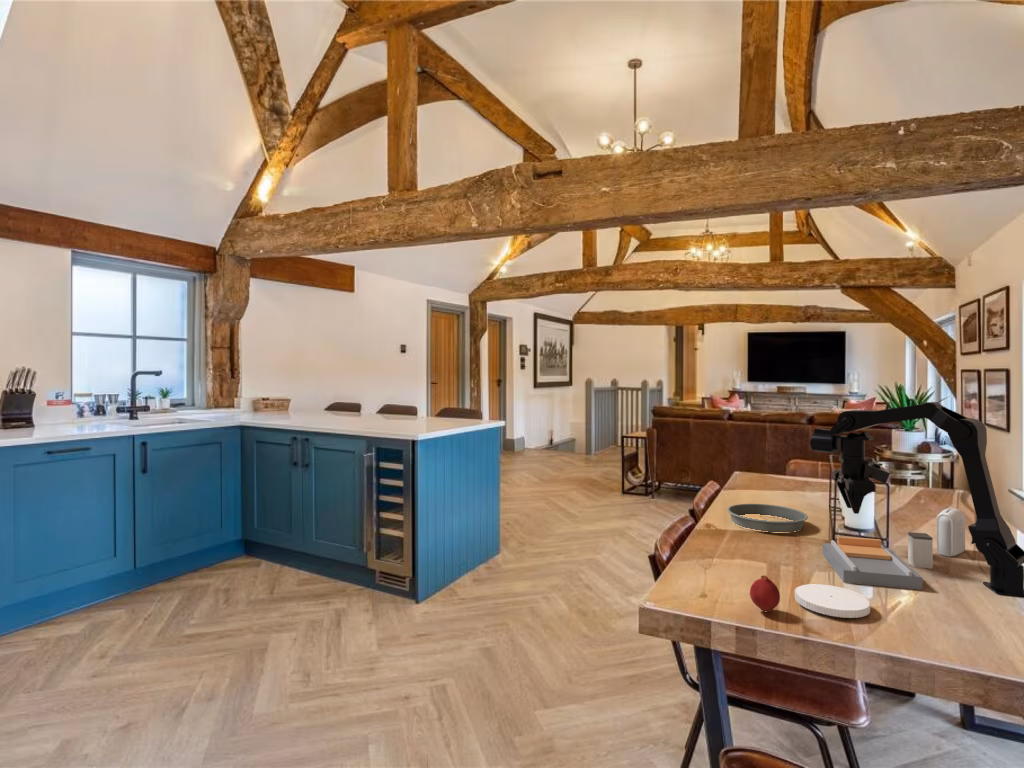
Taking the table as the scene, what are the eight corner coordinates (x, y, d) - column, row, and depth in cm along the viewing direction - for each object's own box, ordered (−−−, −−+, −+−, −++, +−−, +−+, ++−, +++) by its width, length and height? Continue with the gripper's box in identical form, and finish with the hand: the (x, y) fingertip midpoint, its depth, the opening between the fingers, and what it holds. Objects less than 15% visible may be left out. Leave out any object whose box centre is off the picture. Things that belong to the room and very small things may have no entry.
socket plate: (922, 590, 124) (922, 572, 124) (843, 582, 129) (843, 566, 129) (889, 559, 145) (889, 544, 145) (822, 553, 150) (822, 539, 150)
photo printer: (948, 547, 155) (948, 504, 154) (967, 551, 151) (967, 507, 151) (934, 554, 149) (934, 509, 149) (953, 558, 145) (953, 513, 145)
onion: (754, 603, 118) (754, 567, 118) (783, 610, 115) (782, 573, 114) (746, 612, 114) (746, 575, 114) (776, 620, 110) (775, 581, 110)
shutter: (890, 560, 136) (890, 548, 136) (845, 556, 139) (845, 545, 139) (880, 550, 143) (880, 539, 143) (837, 546, 146) (837, 536, 146)
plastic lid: (781, 596, 123) (781, 585, 123) (840, 593, 124) (840, 582, 124) (821, 624, 109) (821, 611, 109) (886, 621, 110) (886, 609, 110)
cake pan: (815, 538, 165) (815, 524, 165) (729, 532, 173) (729, 518, 173) (800, 518, 188) (800, 505, 188) (725, 513, 196) (725, 501, 196)
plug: (932, 568, 138) (932, 537, 138) (914, 567, 139) (914, 536, 139) (926, 563, 142) (926, 533, 142) (908, 562, 143) (908, 532, 143)
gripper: (898, 461, 138) (898, 521, 139) (875, 451, 156) (875, 504, 156) (849, 459, 142) (849, 518, 142) (831, 450, 160) (832, 502, 160)
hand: (852, 510), depth 150 cm, fingers open, 6 cm apart
